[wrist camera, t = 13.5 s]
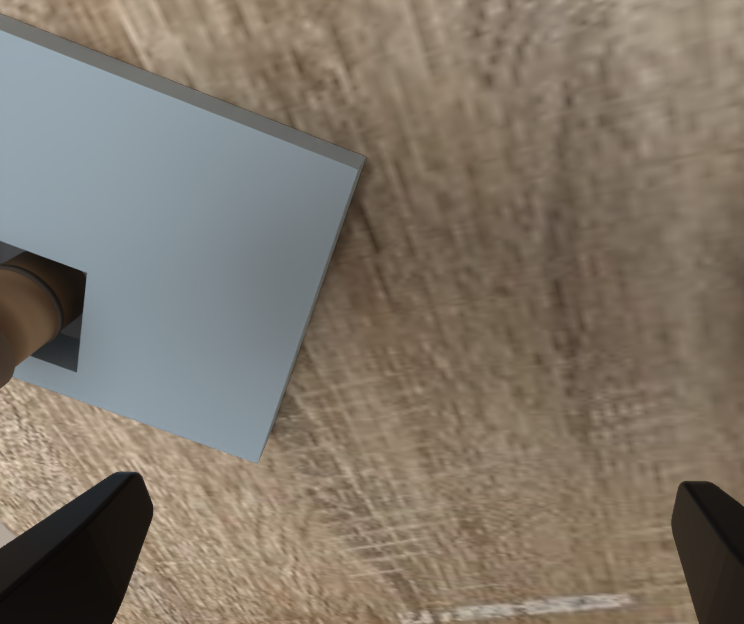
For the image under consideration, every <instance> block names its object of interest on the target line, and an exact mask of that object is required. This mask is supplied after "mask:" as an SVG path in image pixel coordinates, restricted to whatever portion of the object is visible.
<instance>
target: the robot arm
mask: <svg viewBox="0 0 744 624" xmlns="http://www.w3.org/2000/svg"><path fill="white" fill-rule="evenodd" d="M152 517H153V504H152V501H151V498H150V496H149V493H148V490H147V488H146V485H145V482H144V480H143V477H142V476H141V475H140V474H139V473H137V472H116V473H113V474H112V475H110V476H109V477H107V478H106V479H104V480H103V481H101V482H100V483H98V484H97V485H95V486H94V487H92V488H91V489H89V490H88V491H86V492H85V493H83V494H81V495H80V496H78V497H77V498H75V499H74V500H72V501H71V502H69V503H68V504H66V505H65V506H63V507H62V508H60V509H59V510H57V511H56V512H54V513H53V514H51V515H50V516H48V517H47V518H45V519H44V520H42V521H41V522H39V523H38V524H36V525H35V526H33V527H32V528H30V529H29V530H27V531H26V532H24V533H23V534H21V535H20V536H18V537H17V538H15V539H14V540H12V541H11V542H9V543H8V544H6V545H5V546H3V547H2V548H0V624H112V623H113V621H114V619H115V617H116V614H117V612H118V610H119V608H120V605H121V603H122V601H123V598H124V596H125V593H126V590H127V588H128V585H129V582H130V579H131V577H132V574H133V571H134V568H135V565H136V563H137V560H138V557H139V554H140V551H141V549H142V546H143V543H144V540H145V537H146V535H147V532H148V529H149V526H150V523H151V521H152ZM671 525H672V533H673V537H674V540H675V543H676V547H677V550H678V554H679V557H680V561H681V564H682V567H683V571H684V574H685V578H686V581H687V585H688V588H689V591H690V595H691V598H692V602H693V605H694V609H695V612H696V615H697V619H698V622H699V624H744V506H742V505H741V504H740V503H739V502H737V501H736V500H735V499H733V498H732V497H731V496H729V495H728V494H727V493H725V492H724V491H723V490H721V489H720V488H719V487H718V486H716V485H715V484H713V483H711V482H708V481H684V482H682V483H681V484H680V485H679V487H678V491H677V495H676V500H675V505H674V509H673V514H672V520H671Z"/></svg>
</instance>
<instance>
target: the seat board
mask: <svg viewBox="0 0 744 624" xmlns="http://www.w3.org/2000/svg"><path fill="white" fill-rule="evenodd" d="M365 159H366V157H365V156H362V155H360V154H357V153H355V152H352V151H350V150H347V149H344V148H342V147H339V146H337V145H334V144H332V143H329V142H327V141H324V140H321V139H319V138H316V137H314V136H311V135H309V134H306V133H304V132H301V131H298V130H296V129H293V128H291V127H288V126H286V125H283V124H281V123H278V122H275V121H273V120H270V119H268V118H265V117H263V116H260V115H258V114H255V113H253V112H250V111H247V110H245V109H242V108H240V107H237V106H235V105H232V104H230V103H227V102H224V101H222V100H219V99H217V98H214V97H212V96H209V95H207V94H204V93H201V92H199V91H196V90H194V89H191V88H189V87H186V86H184V85H181V84H178V83H176V82H173V81H171V80H168V79H166V78H163V77H161V76H158V75H155V74H153V73H150V72H148V71H145V70H143V69H140V68H138V67H135V66H132V65H130V64H127V63H125V62H122V61H120V60H117V59H115V58H112V57H109V56H107V55H104V54H102V53H99V52H97V51H94V50H92V49H89V48H87V47H84V46H81V45H79V44H76V43H74V42H71V41H69V40H66V39H64V38H61V37H58V36H56V35H53V34H51V33H48V32H46V31H43V30H41V29H38V28H35V27H33V26H30V25H28V24H25V23H23V22H20V21H18V20H15V19H12V18H10V17H7V16H5V15H2V14H0V265H1V264H2V263H4V262H6V261H8V260H10V259H12V258H13V257H15V256H17V255H19V254H21V253H23V252H24V251H29V252H32V253H35V254H37V255H40V256H43V257H45V258H48V259H51V260H54V261H56V262H59V263H62V264H64V265H67V266H70V267H73V268H75V269H78V270H81V271H82V273H83V274H84V276H85V278H86V289H85V299H84V308H83V313H82V314H81V315H80V316H79V317H78V318H76V319H75V320H74V321H73V322H71V323H70V324H69V325H68V326H66V327H65V328H64V329H63V330H61V332H60V334H59V335H58V336H57V337H56V338H55V339H53V340H52V341H51V342H49V343H48V344H46V345H43V346H41V347H40V348H39V349H37V350H36V351H35V352H34V353H32V354H31V355H30V356H29V357H27V358H26V359H25V360H24V361H22V362H21V363H20V364H19V365H17V366H16V367H15V370H14V374H13V376H12V377H14V378H17V379H20V380H23V381H25V382H28V383H31V384H34V385H37V386H40V387H42V388H45V389H48V390H51V391H54V392H56V393H59V394H62V395H65V396H68V397H71V398H73V399H76V400H79V401H82V402H85V403H87V404H90V405H93V406H96V407H99V408H102V409H104V410H107V411H110V412H113V413H116V414H119V415H121V416H124V417H127V418H130V419H133V420H135V421H138V422H141V423H144V424H147V425H150V426H152V427H155V428H158V429H161V430H164V431H166V432H169V433H172V434H175V435H178V436H181V437H183V438H186V439H189V440H192V441H195V442H197V443H200V444H203V445H206V446H209V447H212V448H214V449H217V450H220V451H223V452H226V453H229V454H231V455H234V456H237V457H240V458H243V459H245V460H248V461H251V462H254V463H257V464H258V461H259V459H260V457H261V455H262V452H263V450H264V448H265V445H266V443H267V441H268V439H269V436H270V434H271V431H272V428H273V425H274V422H275V419H276V416H277V414H278V411H279V408H280V405H281V402H282V399H283V396H284V393H285V390H286V387H287V385H288V382H289V379H290V376H291V373H292V370H293V367H294V364H295V361H296V359H297V356H298V353H299V350H300V347H301V344H302V341H303V338H304V335H305V332H306V330H307V327H308V324H309V321H310V318H311V315H312V312H313V309H314V306H315V304H316V301H317V298H318V295H319V292H320V289H321V286H322V283H323V280H324V278H325V275H326V272H327V269H328V266H329V263H330V260H331V257H332V254H333V251H334V249H335V246H336V243H337V240H338V237H339V234H340V231H341V228H342V225H343V223H344V220H345V217H346V214H347V211H348V208H349V205H350V202H351V199H352V196H353V194H354V191H355V188H356V185H357V182H358V179H359V176H360V173H361V170H362V168H363V165H364V162H365ZM67 335H68V336H67ZM70 336H71V337H70ZM78 339H79V340H78Z"/></svg>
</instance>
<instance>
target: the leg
mask: <svg viewBox="0 0 744 624" xmlns="http://www.w3.org/2000/svg"><path fill="white" fill-rule="evenodd" d="M85 289H86V278H85V276H84V274H83V273H82V271H81V270H78V269H75V268H73V267H70V266H67V265H64V264H62V263H59V262H56V261H54V260H51V259H48V258H45V257H43V256H40V255H37V254H35V253H32V252H29V251H24V252H23V253H21V254H19V255H17V256H15V257H13V258H12V259H10V260H8V261H6V262H4V263H2V264H1V265H0V388H2V387H3V386H4V385H5V384H6V383H8V382H9V380H10V379H11V378H12V376H13V374H14V370H15V367H16V366H17V365H19V364H20V363H21V362H22V361H24V360H25V359H26V358H27V357H29V356H30V355H31V354H32V353H34V352H35V351H36V350H37V349H39V348H40V347H41V346H43V345H46V344H48V343H49V342H51V341H52V340H53V339H55V338H56V337H57V336H58V335H59V334H60V332H61V330H63V329H64V328H65V327H66V326H68V325H69V324H70V323H71V322H73V321H74V320H75V319H76V318H78V317H79V316H80V315H81V314H82V313H83V308H84V299H85Z"/></svg>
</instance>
